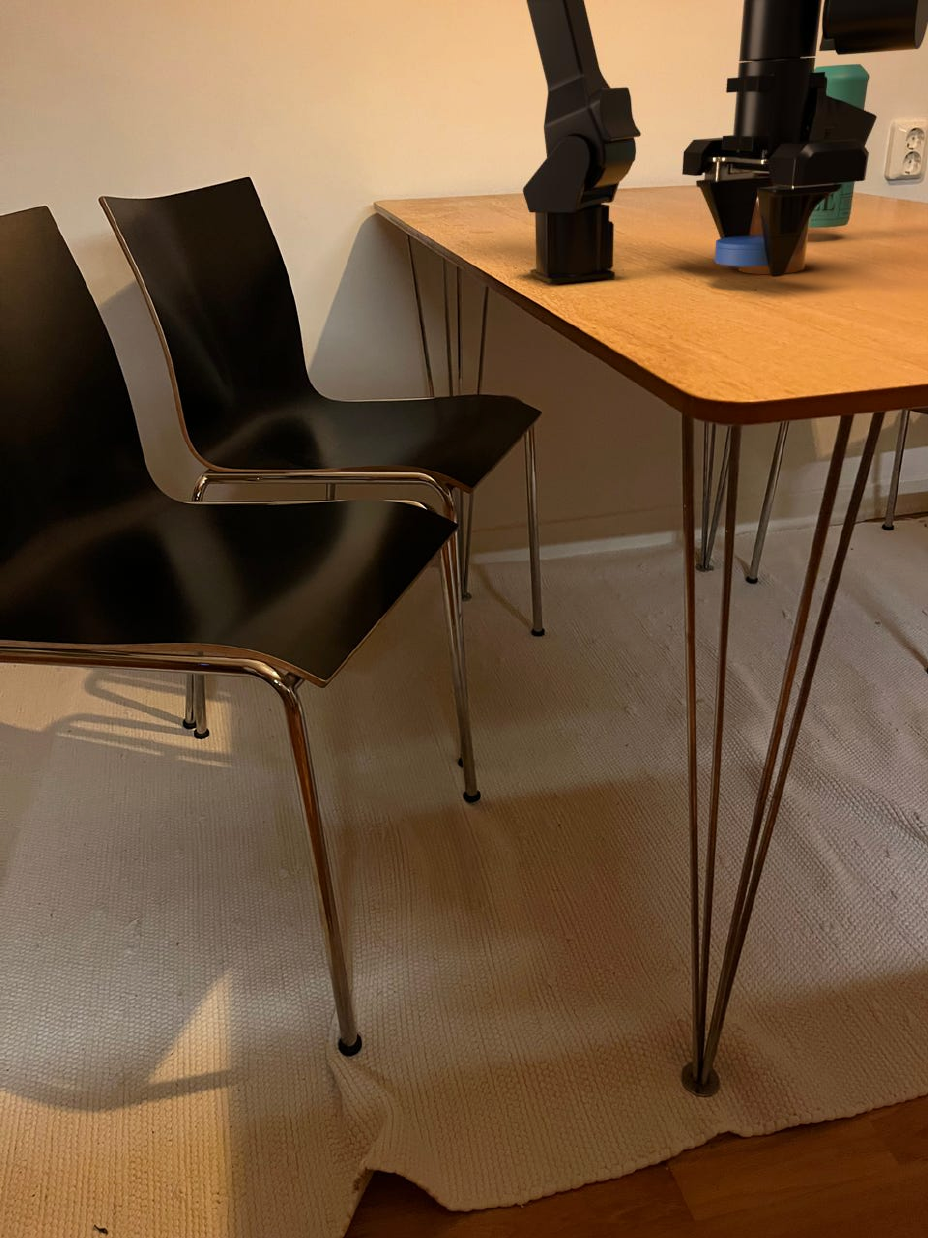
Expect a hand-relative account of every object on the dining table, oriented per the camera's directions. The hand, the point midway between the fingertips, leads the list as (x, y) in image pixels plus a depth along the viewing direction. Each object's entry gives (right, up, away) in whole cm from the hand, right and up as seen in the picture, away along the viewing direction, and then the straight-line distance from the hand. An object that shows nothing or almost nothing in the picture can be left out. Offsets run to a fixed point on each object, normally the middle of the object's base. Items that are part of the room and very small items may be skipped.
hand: (756, 270), depth 79 cm
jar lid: (-1, +2, -1) cm, 2 cm away
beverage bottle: (+14, +12, +23) cm, 29 cm away
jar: (+4, +3, +8) cm, 9 cm away
